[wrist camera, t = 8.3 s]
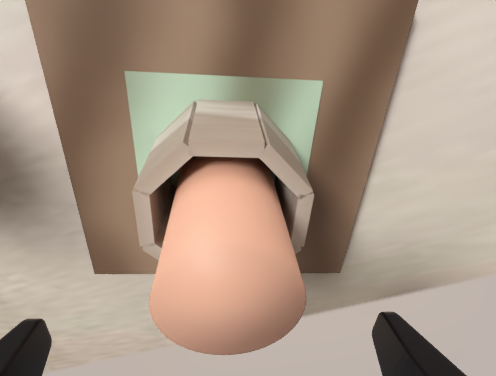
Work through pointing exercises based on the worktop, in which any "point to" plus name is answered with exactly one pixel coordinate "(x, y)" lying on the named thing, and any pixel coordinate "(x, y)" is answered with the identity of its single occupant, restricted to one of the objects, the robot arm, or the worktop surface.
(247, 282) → the terracotta peg
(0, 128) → the worktop surface
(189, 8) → the tube board
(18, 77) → the worktop surface
